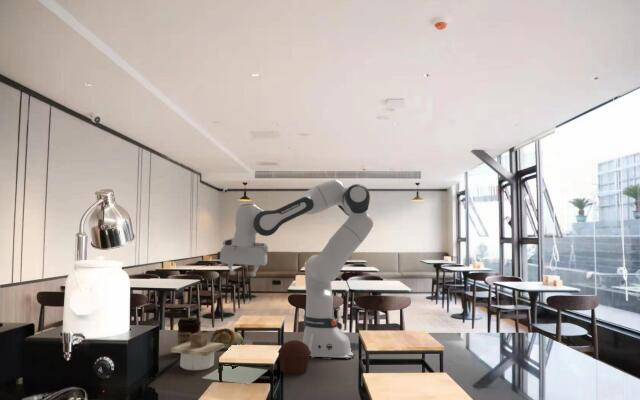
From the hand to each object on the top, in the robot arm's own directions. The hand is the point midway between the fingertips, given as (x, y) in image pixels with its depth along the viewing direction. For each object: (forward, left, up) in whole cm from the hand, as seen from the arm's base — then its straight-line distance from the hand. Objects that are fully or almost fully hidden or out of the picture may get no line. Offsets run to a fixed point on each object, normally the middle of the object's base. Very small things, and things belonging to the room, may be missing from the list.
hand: (242, 275), depth 178 cm
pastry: (+5, +1, -30) cm, 30 cm away
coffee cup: (+14, +16, -29) cm, 36 cm away
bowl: (+1, +31, -29) cm, 43 cm away
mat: (-15, +34, -29) cm, 47 cm away
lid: (+1, +31, -23) cm, 39 cm away
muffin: (-31, +23, -29) cm, 49 cm away
